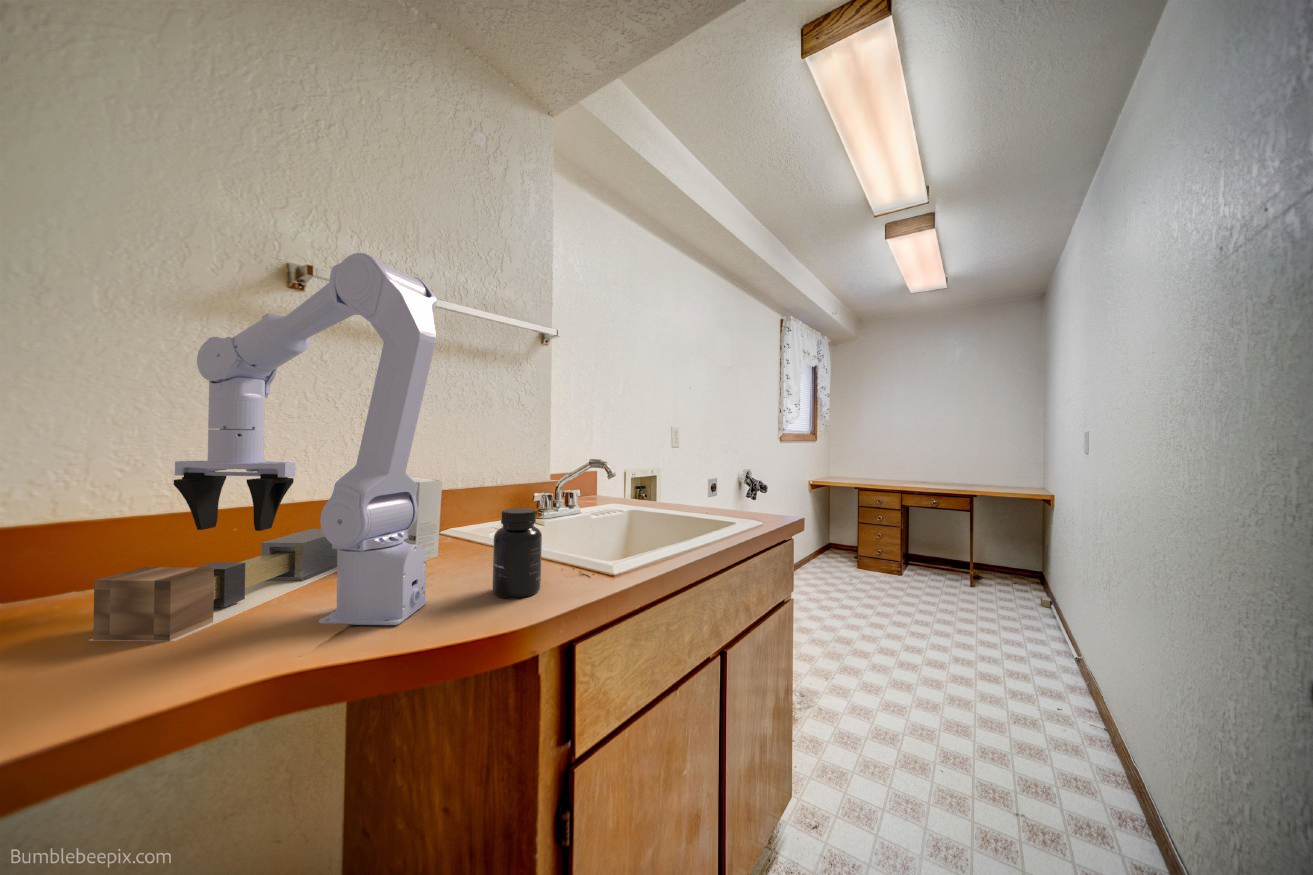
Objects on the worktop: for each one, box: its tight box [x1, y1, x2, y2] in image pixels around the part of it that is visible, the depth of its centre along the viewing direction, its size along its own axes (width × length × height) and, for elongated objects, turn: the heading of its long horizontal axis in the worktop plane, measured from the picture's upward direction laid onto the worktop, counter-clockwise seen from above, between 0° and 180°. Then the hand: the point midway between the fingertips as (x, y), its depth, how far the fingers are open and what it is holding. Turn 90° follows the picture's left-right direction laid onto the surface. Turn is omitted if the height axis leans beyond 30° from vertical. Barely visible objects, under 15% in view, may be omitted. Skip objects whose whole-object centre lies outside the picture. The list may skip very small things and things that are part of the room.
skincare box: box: [404, 476, 443, 561], centre depth 85 cm, size 8×6×15 cm
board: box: [88, 567, 337, 642], centre depth 65 cm, size 9×31×1 cm, turn 1°
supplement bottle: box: [492, 507, 543, 599], centre depth 69 cm, size 7×7×12 cm
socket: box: [92, 566, 214, 642], centre depth 52 cm, size 8×5×6 cm, turn 91°
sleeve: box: [260, 528, 337, 581], centre depth 76 cm, size 6×10×6 cm, turn 1°
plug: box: [196, 551, 295, 607], centre depth 62 cm, size 4×19×5 cm, turn 1°
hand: (235, 529), depth 64 cm, fingers open, 7 cm apart
